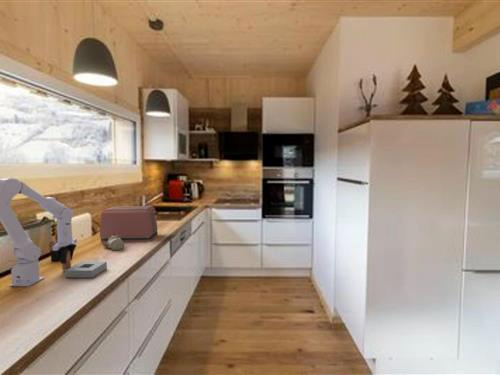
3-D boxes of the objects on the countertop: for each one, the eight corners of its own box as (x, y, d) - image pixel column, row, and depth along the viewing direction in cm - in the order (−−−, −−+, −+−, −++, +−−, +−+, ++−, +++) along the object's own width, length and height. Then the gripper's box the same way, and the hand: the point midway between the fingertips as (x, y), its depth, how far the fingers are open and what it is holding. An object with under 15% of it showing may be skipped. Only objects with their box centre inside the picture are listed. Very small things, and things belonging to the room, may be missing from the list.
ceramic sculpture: (107, 237, 173) (101, 233, 185) (108, 252, 173) (102, 248, 185) (127, 234, 179) (120, 231, 191) (128, 249, 179) (121, 245, 191)
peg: (67, 269, 143) (66, 252, 143) (60, 269, 144) (59, 252, 143) (72, 267, 147) (71, 250, 146) (65, 267, 147) (64, 250, 146)
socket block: (92, 278, 134) (91, 270, 134) (65, 278, 135) (64, 270, 135) (106, 269, 146) (106, 261, 146) (82, 268, 147) (81, 261, 147)
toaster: (153, 242, 196) (152, 209, 194) (98, 243, 195) (97, 210, 194) (161, 235, 215) (160, 205, 213) (111, 236, 214) (110, 206, 213)
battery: (67, 257, 166) (66, 238, 165) (59, 261, 159) (58, 242, 158) (58, 257, 166) (57, 238, 165) (50, 261, 159) (49, 242, 158)
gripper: (62, 236, 136) (64, 267, 137) (82, 229, 151) (84, 257, 152) (47, 236, 137) (49, 266, 138) (68, 229, 151) (69, 257, 152)
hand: (66, 261), depth 145 cm, fingers closed on peg, 3 cm apart
